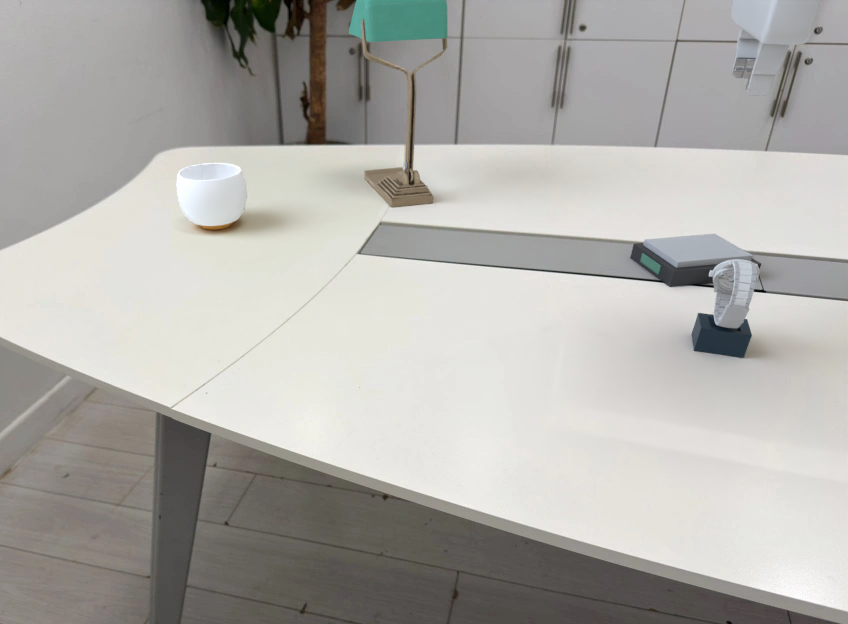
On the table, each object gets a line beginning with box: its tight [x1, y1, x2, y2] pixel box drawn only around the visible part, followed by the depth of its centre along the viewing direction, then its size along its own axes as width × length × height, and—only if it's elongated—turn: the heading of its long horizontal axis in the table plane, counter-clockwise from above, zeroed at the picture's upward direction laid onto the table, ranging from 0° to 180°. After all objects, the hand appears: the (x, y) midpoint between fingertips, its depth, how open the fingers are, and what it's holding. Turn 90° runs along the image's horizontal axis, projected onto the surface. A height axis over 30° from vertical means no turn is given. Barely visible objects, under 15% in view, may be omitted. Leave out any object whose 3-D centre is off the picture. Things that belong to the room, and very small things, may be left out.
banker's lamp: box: [348, 0, 448, 208], centre depth 129 cm, size 16×21×35 cm
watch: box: [691, 259, 760, 359], centre depth 81 cm, size 6×8×11 cm
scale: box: [630, 233, 762, 287], centre depth 103 cm, size 14×11×3 cm
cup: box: [175, 162, 248, 231], centre depth 120 cm, size 12×12×10 cm
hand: (748, 85), depth 66 cm, fingers open, 8 cm apart
